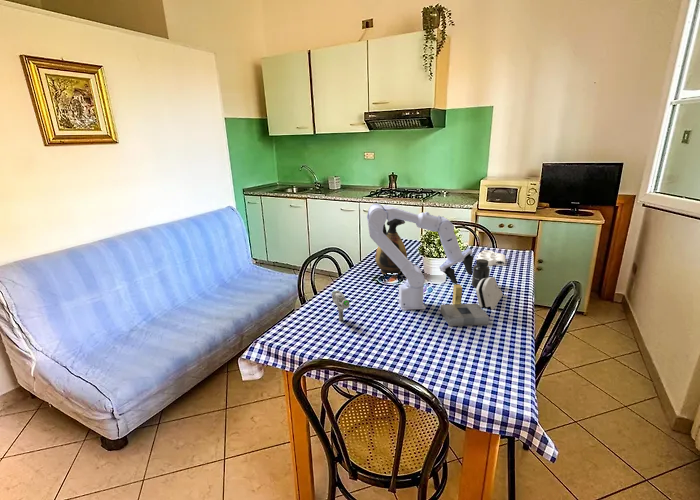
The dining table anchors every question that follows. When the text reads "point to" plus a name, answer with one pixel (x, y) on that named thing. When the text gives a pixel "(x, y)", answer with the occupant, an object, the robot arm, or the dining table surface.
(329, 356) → the dining table surface
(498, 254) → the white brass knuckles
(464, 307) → the grey slotted plate
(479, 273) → the supplement bottle
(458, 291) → the wood grain block
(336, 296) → the mechanical component
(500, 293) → the white angular device
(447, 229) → the robot arm
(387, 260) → the ceramic jug
